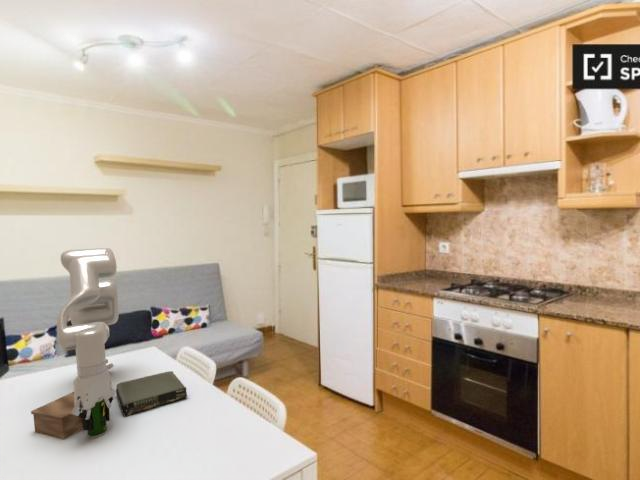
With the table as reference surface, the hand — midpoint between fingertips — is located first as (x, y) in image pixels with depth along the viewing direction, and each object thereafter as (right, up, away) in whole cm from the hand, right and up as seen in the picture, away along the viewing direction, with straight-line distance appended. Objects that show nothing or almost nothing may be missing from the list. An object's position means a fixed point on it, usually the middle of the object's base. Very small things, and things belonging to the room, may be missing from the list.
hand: (96, 424), depth 124 cm
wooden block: (-12, -3, +7) cm, 14 cm away
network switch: (+6, -2, +25) cm, 25 cm away
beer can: (0, -3, 0) cm, 3 cm away
